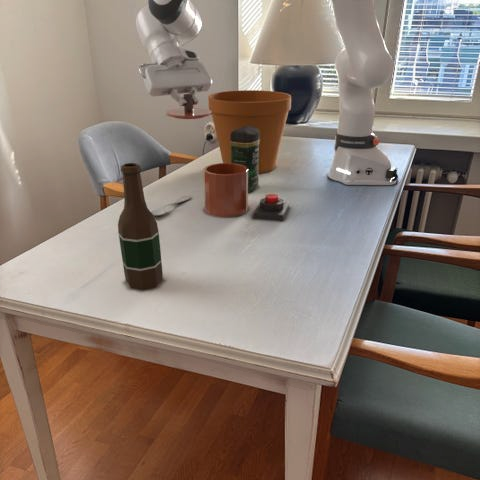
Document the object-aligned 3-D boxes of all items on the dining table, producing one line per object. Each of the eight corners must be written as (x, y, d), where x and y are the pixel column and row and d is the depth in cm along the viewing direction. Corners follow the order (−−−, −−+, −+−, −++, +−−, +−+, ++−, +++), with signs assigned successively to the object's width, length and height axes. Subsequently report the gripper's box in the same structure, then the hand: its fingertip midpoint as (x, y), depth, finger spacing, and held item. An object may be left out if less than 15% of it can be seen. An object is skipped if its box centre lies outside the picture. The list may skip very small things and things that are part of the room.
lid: (216, 113, 142) (216, 92, 139) (204, 121, 132) (203, 98, 129) (175, 111, 145) (173, 90, 142) (159, 119, 134) (157, 96, 131)
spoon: (144, 218, 131) (143, 212, 130) (183, 196, 147) (182, 191, 146) (156, 220, 130) (156, 215, 129) (194, 198, 146) (194, 192, 145)
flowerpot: (202, 175, 166) (199, 101, 153) (219, 155, 189) (218, 89, 177) (283, 179, 162) (287, 103, 149) (291, 158, 185) (294, 91, 172)
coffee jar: (249, 194, 148) (250, 131, 138) (226, 191, 151) (225, 128, 141) (262, 186, 156) (263, 125, 146) (240, 183, 159) (240, 123, 149)
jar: (251, 204, 141) (251, 164, 135) (242, 218, 131) (242, 176, 125) (211, 201, 143) (210, 162, 137) (200, 215, 133) (198, 173, 127)
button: (266, 199, 135) (266, 193, 134) (279, 200, 134) (279, 194, 133) (264, 204, 132) (264, 197, 131) (277, 204, 131) (277, 198, 130)
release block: (261, 205, 140) (261, 193, 138) (288, 207, 138) (289, 195, 137) (253, 218, 131) (253, 206, 129) (282, 221, 129) (283, 208, 128)
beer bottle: (127, 274, 103) (111, 159, 91) (164, 272, 104) (153, 158, 91) (123, 291, 97) (105, 171, 84) (162, 290, 97) (150, 170, 85)
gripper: (139, 55, 129) (161, 99, 128) (202, 52, 140) (223, 93, 139) (133, 72, 134) (154, 115, 133) (194, 68, 145) (214, 108, 144)
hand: (189, 104), depth 136 cm, fingers closed on lid, 2 cm apart
